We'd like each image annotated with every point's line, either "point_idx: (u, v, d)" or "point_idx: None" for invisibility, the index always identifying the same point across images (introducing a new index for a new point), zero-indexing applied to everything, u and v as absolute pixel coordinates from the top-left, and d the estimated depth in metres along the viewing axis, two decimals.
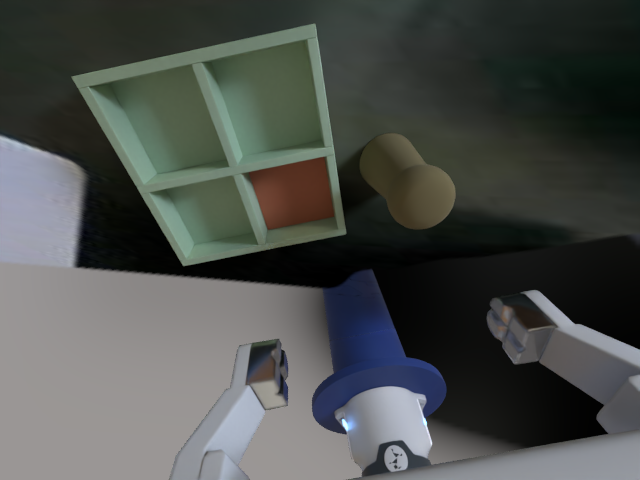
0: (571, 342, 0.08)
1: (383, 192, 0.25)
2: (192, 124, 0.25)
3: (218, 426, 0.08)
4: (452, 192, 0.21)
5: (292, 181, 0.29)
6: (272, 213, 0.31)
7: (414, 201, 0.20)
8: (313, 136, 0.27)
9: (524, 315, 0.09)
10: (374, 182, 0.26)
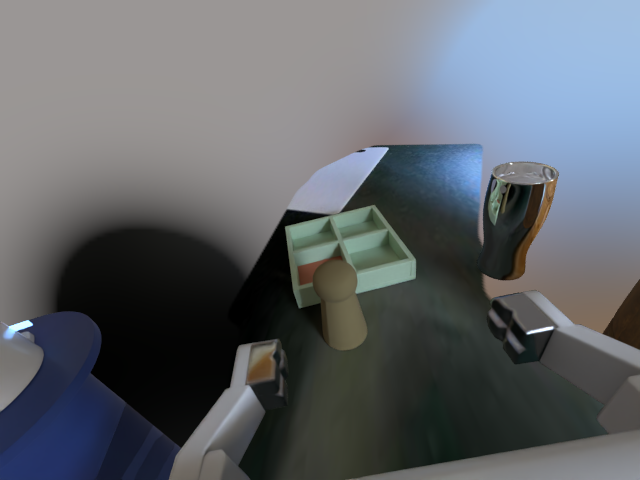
0: (571, 342, 0.08)
1: None
2: None
3: (219, 426, 0.08)
4: (342, 281, 0.29)
5: None
6: (309, 267, 0.47)
7: (336, 262, 0.32)
8: None
9: (524, 315, 0.09)
10: None
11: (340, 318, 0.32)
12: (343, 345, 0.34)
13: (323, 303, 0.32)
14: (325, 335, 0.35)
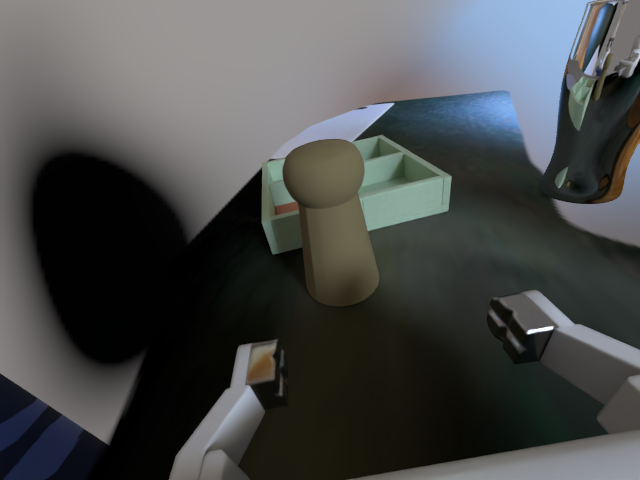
0: (571, 342, 0.08)
1: None
2: None
3: (219, 426, 0.08)
4: (336, 156, 0.15)
5: None
6: (291, 206, 0.33)
7: (326, 139, 0.18)
8: None
9: (524, 315, 0.09)
10: None
11: (333, 242, 0.18)
12: (339, 296, 0.20)
13: (303, 216, 0.18)
14: (309, 282, 0.21)
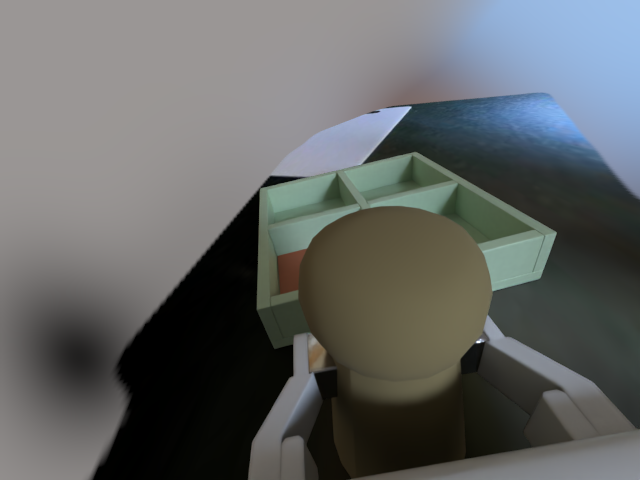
0: (499, 355, 0.08)
1: None
2: None
3: (291, 413, 0.08)
4: (448, 285, 0.06)
5: None
6: (300, 257, 0.24)
7: (393, 210, 0.08)
8: None
9: None
10: None
11: (406, 430, 0.08)
12: None
13: (341, 370, 0.08)
14: (342, 452, 0.11)
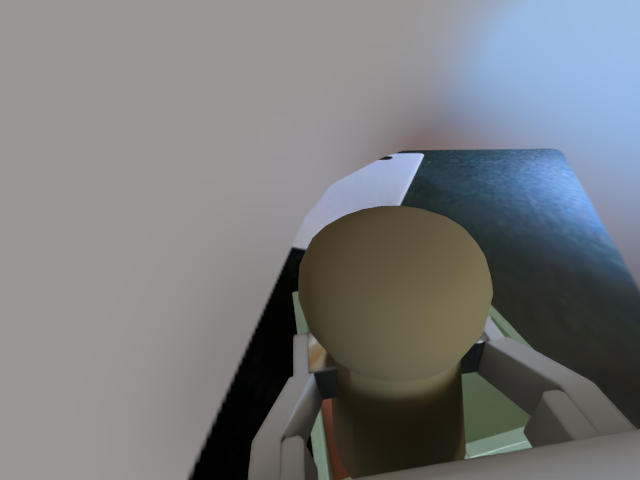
0: (499, 355, 0.08)
1: None
2: None
3: (290, 413, 0.08)
4: (449, 285, 0.06)
5: None
6: None
7: (393, 210, 0.08)
8: None
9: None
10: None
11: (406, 430, 0.08)
12: None
13: (341, 370, 0.08)
14: (342, 452, 0.11)
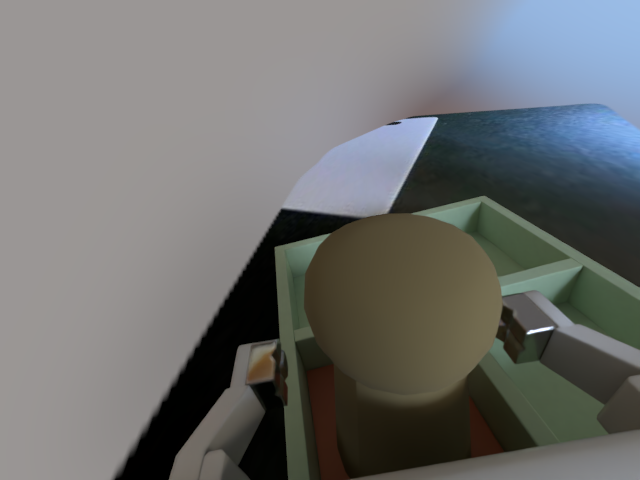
0: (571, 342, 0.08)
1: None
2: None
3: (219, 426, 0.08)
4: (459, 298, 0.06)
5: None
6: None
7: (400, 218, 0.08)
8: None
9: (524, 315, 0.09)
10: None
11: (412, 441, 0.08)
12: None
13: (346, 379, 0.08)
14: (347, 460, 0.11)
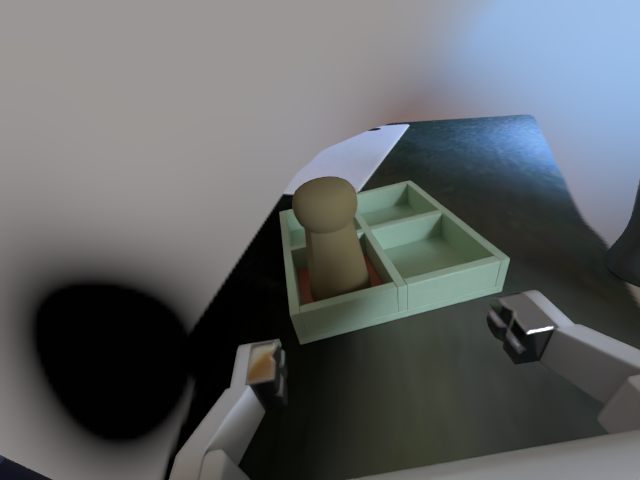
0: (571, 342, 0.08)
1: None
2: None
3: (218, 426, 0.08)
4: (335, 195, 0.20)
5: None
6: None
7: (327, 177, 0.22)
8: None
9: (524, 315, 0.09)
10: None
11: (332, 259, 0.22)
12: None
13: (308, 238, 0.22)
14: (313, 291, 0.25)
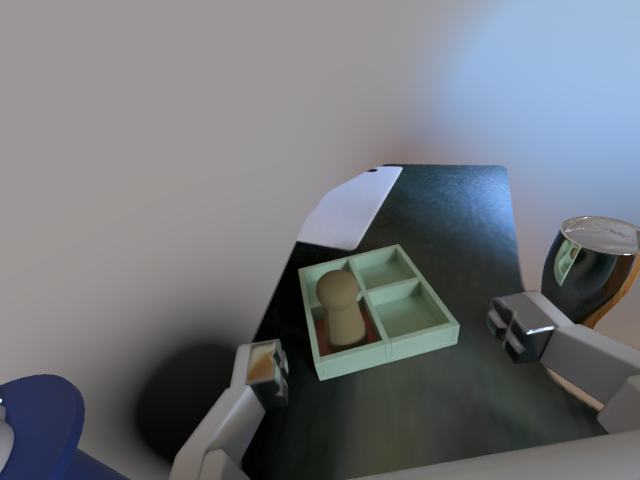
0: (571, 342, 0.08)
1: None
2: (384, 285, 0.45)
3: (219, 426, 0.08)
4: (344, 290, 0.31)
5: None
6: None
7: (338, 272, 0.33)
8: None
9: (524, 315, 0.09)
10: None
11: (342, 326, 0.34)
12: None
13: (326, 311, 0.34)
14: (328, 342, 0.37)
